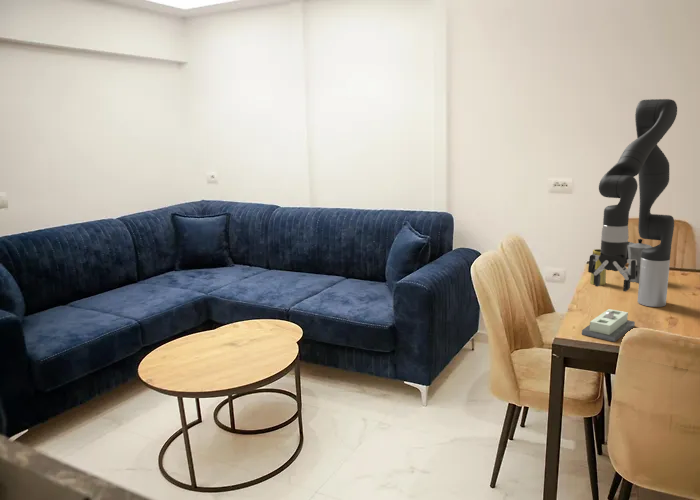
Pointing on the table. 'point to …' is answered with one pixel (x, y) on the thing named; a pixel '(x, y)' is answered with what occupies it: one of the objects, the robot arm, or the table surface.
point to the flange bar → (608, 322)
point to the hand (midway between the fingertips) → (611, 288)
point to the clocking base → (614, 335)
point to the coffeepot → (636, 255)
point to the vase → (597, 265)
